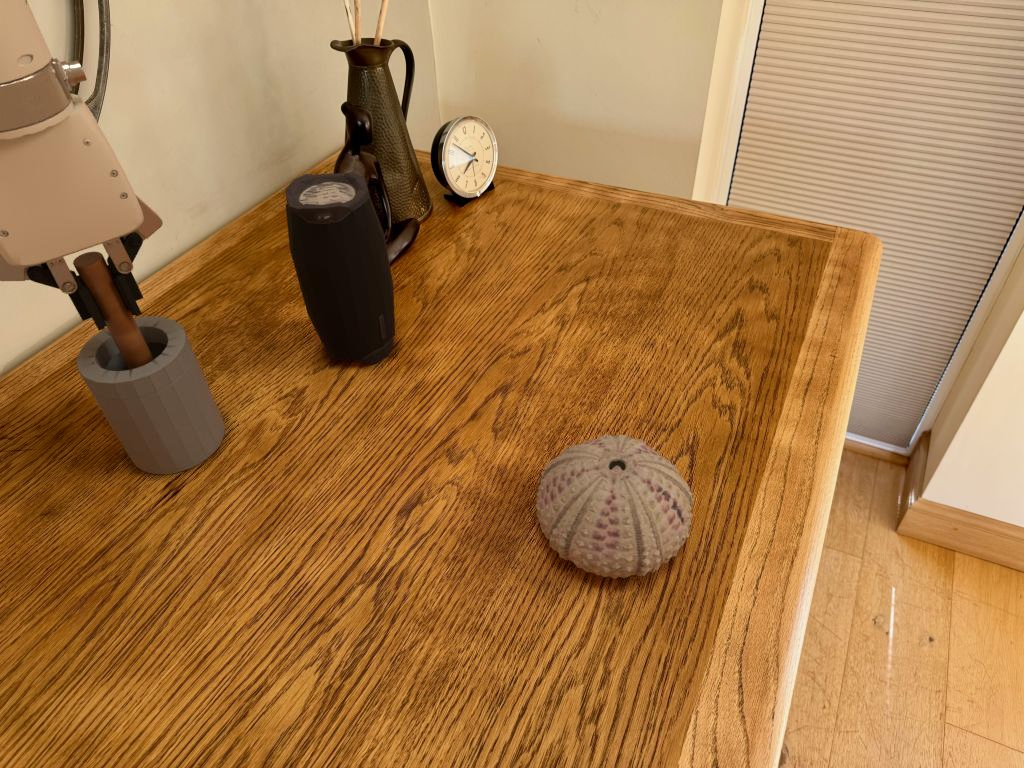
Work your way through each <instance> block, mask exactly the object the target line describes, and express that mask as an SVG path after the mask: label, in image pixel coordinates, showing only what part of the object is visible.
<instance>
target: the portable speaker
mask: <svg viewBox="0 0 1024 768" xmlns="http://www.w3.org/2000/svg"><path fill="white" fill-rule="evenodd" d="M284 190H285V199H286V203H285V213H286V222H287V224H286V225H287V233H288V235H287V236H288V245H289V251H290V256H291V259H292V262H293V266H294V270H295V273H296V277H297V281H298V283H299V288H300V291H301V295H302V299H303V303H304V306H305V309H306V312H307V315H308V318H309V321H310V322H311V324H312V326H313V328H314V330H315V332H316V334H317V336H318V338H319V341H320V343H321V344H322V345H323V348H324V351H325V354H326V355H327V356H328V358H329V359H330V360H331V362H333V363H337V362H340V361H346V362H347V361H351V362H362V363H364V364H365V365H367V366H369V365H376V364H378V363H380V362H381V361H382V360H384V359H385V358H387V357H388V356H389V355H390V353H391V352H392V350H393V348H394V337H395V336H396V321H395V320H396V318H395V317H396V316H395V296H394V295H395V293H394V280H393V275H392V270H391V264H390V258H389V253H388V247H387V242H386V235H385V232H384V229H383V227H382V224H381V221H380V219H379V217H378V214H377V211H376V209H375V206H374V204H373V200H372V199H371V195H370V191H369V190H370V189H369V184H368V183H367V181H366V179H365V177H364V176H363V175H361V174H358V173H357V172H355V171H349V172H341V173H338V172H337V173H336V172H335V173H320V174H318V173H317V174H311V173H309V174H308V173H305V174H303V175H301V176H298V177H296V178H294V179H292V180H291V182H290V183H289V184H288V185H287V187H285V189H284Z"/></svg>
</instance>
